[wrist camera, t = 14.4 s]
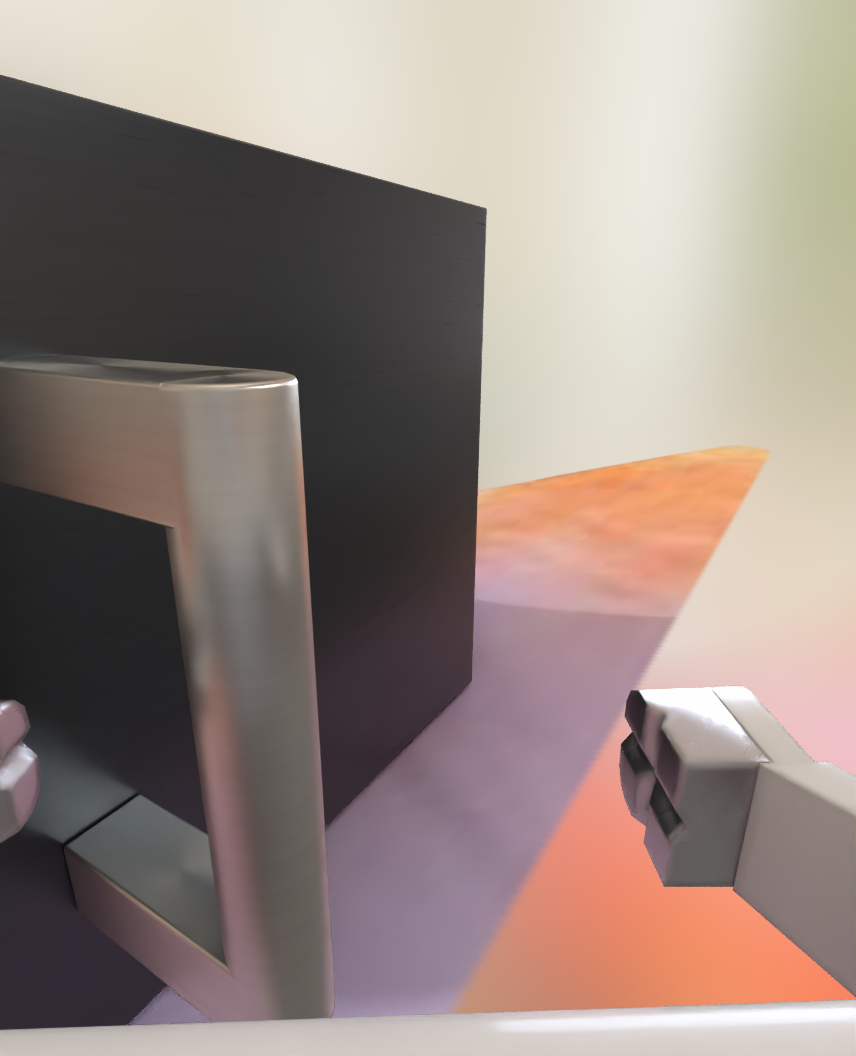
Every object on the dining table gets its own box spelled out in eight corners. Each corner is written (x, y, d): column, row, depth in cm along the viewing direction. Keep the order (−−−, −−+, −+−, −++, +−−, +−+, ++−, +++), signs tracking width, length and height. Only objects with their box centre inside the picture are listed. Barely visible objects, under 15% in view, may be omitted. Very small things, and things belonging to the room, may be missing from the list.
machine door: (600, 724, 23) (660, 194, 18) (220, 1370, 9) (-108, -272, 3) (454, 675, 26) (465, 209, 21) (-1, 1103, 12) (-371, -4, 6)
